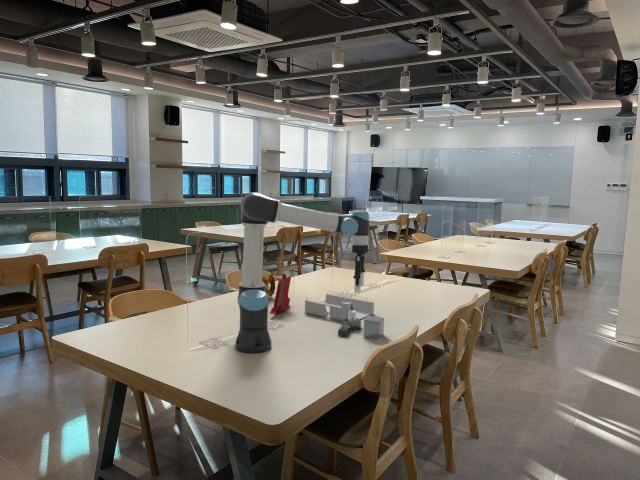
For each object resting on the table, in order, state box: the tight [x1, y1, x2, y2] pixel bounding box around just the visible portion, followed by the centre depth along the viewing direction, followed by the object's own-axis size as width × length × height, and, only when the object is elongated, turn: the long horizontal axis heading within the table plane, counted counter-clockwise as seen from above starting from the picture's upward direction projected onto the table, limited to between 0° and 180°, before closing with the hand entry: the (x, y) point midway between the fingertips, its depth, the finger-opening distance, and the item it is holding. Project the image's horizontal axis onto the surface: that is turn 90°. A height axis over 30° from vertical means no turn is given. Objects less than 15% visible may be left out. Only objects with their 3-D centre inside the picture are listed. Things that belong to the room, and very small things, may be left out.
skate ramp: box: [304, 291, 375, 322], centre depth 253 cm, size 30×27×11 cm
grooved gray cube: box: [362, 315, 385, 339], centre depth 219 cm, size 8×8×8 cm
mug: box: [262, 272, 276, 301], centre depth 281 cm, size 11×16×15 cm, turn 132°
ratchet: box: [337, 310, 362, 338], centre depth 226 cm, size 20×9×8 cm, turn 159°
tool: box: [269, 272, 292, 315], centre depth 258 cm, size 24×5×25 cm, turn 168°
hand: (359, 289), depth 222 cm, fingers open, 13 cm apart
